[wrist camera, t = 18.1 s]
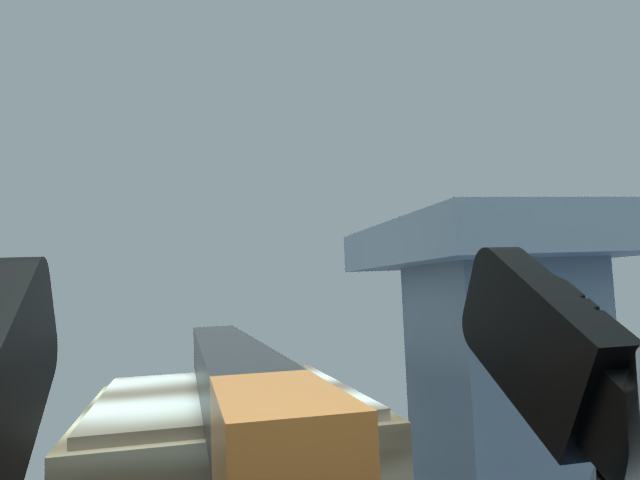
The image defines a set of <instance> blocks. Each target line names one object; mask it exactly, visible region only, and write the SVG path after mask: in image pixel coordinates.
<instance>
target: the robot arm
mask: <svg viewBox="0 0 640 480" xmlns="http://www.w3.org/2000/svg"><path fill="white" fill-rule="evenodd" d="M462 329H463V334H464V338H465V341H466V343H467V345H468V346H469V348H470V349H471V350H472V352H473V353H474V354H475V356H476V357H477V358H478V360H479V361H480V362H481V363H482V365H483V366H484V367H485V369H486V370H487V371H488V373H489V374H490V375H491V376H492V378H493V379H494V380H495V382H496V383H497V384H498V386H499V387H500V388H501V390H502V391H503V392H504V393H505V395H506V396H507V397H508V399H509V400H510V401H511V403H512V404H513V405H514V406H515V408H516V409H517V410H518V412H519V413H520V414H521V416H522V417H523V418H524V420H525V421H526V422H527V423H528V425H529V426H530V427H531V429H532V430H533V431H534V433H535V434H536V435H537V436H538V438H539V439H540V440H541V442H542V443H543V444H544V446H545V447H546V448H547V450H548V451H549V452H550V453H551V455H552V456H553V457H554V459H555V460H556V461H557V463H558V464H559V465H560V466H561V465H570V464H578V463H586V462H591V463H592V464H593V465H594V469H593V472H592V474H591V477H590V480H640V339H639V338H637V337H636V336H635V335H634V334H632V333H631V332H630V331H629V330H628V329H626V328H625V327H624V326H623V325H621V324H620V323H619V322H618V321H616V320H615V319H614V318H613V317H612V316H610V315H609V314H608V313H607V312H605V311H604V310H600V307H599V306H598V305H597V304H595V303H594V302H593V301H592V300H591V299H589V298H585V295H584V294H583V293H582V292H581V291H579V290H578V289H577V288H576V287H575V286H573V285H572V284H571V283H570V282H568V281H567V280H564V279H562V278H560V277H558V276H556V275H554V274H552V273H551V272H550V271H549V270H548V269H546V268H545V267H544V266H543V265H542V264H540V263H539V262H538V261H537V260H535V259H534V258H533V257H532V256H531V255H529V254H528V253H527V252H526V251H524V250H523V249H522V248H520V247H484V248H481V249H480V250H479V251H478V252H477V254H476V256H475V259H474V263H473V267H472V272H471V277H470V282H469V287H468V291H467V296H466V301H465V306H464V310H463V316H462ZM56 362H57V333H56V324H55V316H54V308H53V299H52V291H51V282H50V274H49V268H48V263H47V260H46V259H45V257H16V258H15V257H13V258H0V480H24V478H25V474H26V471H27V467H28V464H29V460H30V457H31V454H32V450H33V447H34V443H35V440H36V436H37V433H38V429H39V426H40V422H41V419H42V415H43V412H44V408H45V405H46V401H47V398H48V394H49V391H50V388H51V384H52V381H53V377H54V374H55V369H56Z"/></svg>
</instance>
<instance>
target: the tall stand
mask: <svg viewBox="0 0 640 480" xmlns="http://www.w3.org/2000/svg"><path fill="white" fill-rule="evenodd" d="M484 247H520V248H522V249H523V250H524V251H526V252H527V253H528V254H529V255H531V256H532V257H533V258H534V259H535V260H537V261H538V262H539V263H540V264H542V265H543V266H544V267H545V268H546V269H548V270H549V271H550V272H551V273H552V274H554V275H556V276H558V277H560V278H562V279H564V280H567V281H568V282H570V283H571V284H572V285H573V286H575V287H576V288H577V289H578V290H579V291H581V292H582V293H583V294H584V295H585V298H589V299H591V300H592V301H593V302H594V303H595V304H597V305H598V306H599V307H600V310H604V311H605V312H607V313H608V314H609V315H610V316H612V317H613V318H614V319H615V320H616V310H615V298H614V286H613V275H612V263H611V262H612V261H611V258H615V257H626V256H638V255H640V197H453V198H450V199H448V200H445V201H442V202H439V203H437V204H434V205H431V206H428V207H426V208H423V209H420V210H417V211H414V212H412V213H409V214H406V215H403V216H401V217H398V218H395V219H392V220H390V221H387V222H385V223H381V224H379V225H376V226H373V227H370V228H368V229H365V230H362V231H359V232H357V233H354V234H351V235H348V236H346V237H344V250H345V271H346V272H358V271H386V270H387V271H388V270H389V271H390V270H401V282H402V300H403V301H402V302H403V320H404V321H403V322H404V339H405V340H404V341H405V359H406V379H407V396H408V397H407V399H408V418H409V422H411V439H412V458H413V477H414V480H590V477H591V474H592V472H593V469H594V465H593V464H592V463H591V462H586V463H578V464H570V465H561V466H560V465H559V464H558V463H557V461H556V460H555V459H554V457H553V456H552V455H551V453H550V452H549V451H548V450H547V448H546V447H545V446H544V444H543V443H542V442H541V440H540V439H539V438H538V436H537V435H536V434H535V433H534V431H533V430H532V429H531V427H530V426H529V425H528V423H527V422H526V421H525V420H524V418H523V417H522V416H521V414H520V413H519V412H518V410H517V409H516V408H515V406H514V405H513V404H512V403H511V401H510V400H509V399H508V397H507V396H506V395H505V393H504V392H503V391H502V390H501V388H500V387H499V386H498V384H497V383H496V382H495V380H494V379H493V378H492V376H491V375H490V374H489V373H488V371H487V370H486V369H485V367H484V366H483V365H482V363H481V362H480V361H479V360H478V358H477V357H476V356H475V354H474V353H473V352H472V350H471V349H470V348H469V346H468V345H467V343H466V341H465V338H464V334H463V329H462V316H463V310H464V306H465V301H466V296H467V291H468V287H469V282H470V277H471V272H472V267H473V263H474V259H475V256H476V254H477V252H478V251H479V250H480V249H481V248H484Z"/></svg>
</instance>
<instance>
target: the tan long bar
mask: <svg viewBox="0 0 640 480" xmlns="http://www.w3.org/2000/svg"><path fill="white" fill-rule="evenodd" d="M194 368H195V375H196V381H197V387H198V394H199V400H200V406H201V413H202V419H203V425H204V432H205V438H206V444H207V451H208V457H209V464H210V470H211V476H212V480H381V475H380V454H379V433H378V412H377V410H376V409H374V408H372V407H370V406H369V405H367V404H365V403H364V402H362V401H360V400H359V399H357V398H355V397H353V396H352V395H350V394H348V393H347V392H345V391H343V390H341V389H340V388H338V387H336V386H335V385H333V384H331V383H330V382H328V381H326V380H324V379H323V378H321V377H319V376H318V375H316V374H314V373H313V372H311V371H309V370H307V369H306V368H304V367H302V366H301V365H299V364H297V363H296V362H294V361H292V360H290V359H289V358H287V357H285V356H284V355H282V354H280V353H278V352H277V351H275V350H273V349H272V348H270V347H268V346H266V345H265V344H263V343H261V342H260V341H258V340H256V339H255V338H253V337H251V336H249V335H248V334H246V333H244V332H243V331H241V330H239V329H238V328H236V327H234V326H216V327H197V328H194Z"/></svg>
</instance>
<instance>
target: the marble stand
mask: <svg viewBox="0 0 640 480" xmlns="http://www.w3.org/2000/svg"><path fill="white" fill-rule="evenodd" d="M301 366H302V367H304V368H306V369H307V370H309V371H311V372H313V373H314V374H316V375H318V376H319V377H321V378H323V379H324V380H326V381H328V382H330V383H331V384H333V385H335V386H336V387H338V388H340V389H341V390H343V391H345V392H347V393H348V394H350V395H352V396H353V397H355V398H357V399H359V400H360V401H362V402H364V403H365V404H367V405H369V406H370V407H372V408H374V409H376V410H377V412H378V433H379V454H380V475H381V480H414V477H413V458H412V439H411V422H409V421H406V420H405V419H403V418H401V417H399V416H397V415H396V414H394V413H392V412H390V408H388V407H386V406H385V405H383V404H381V403H379V402H377V401H375V400H373V399H371V398H369V397H368V396H366V395H364V394H362V393H360V392H358V391H356V390H354V389H352V388H351V387H349V386H347V385H345V384H343V383H341V382H339V381H337V380H335V379H334V378H332V377H330V376H328V375H326V374H324V373H322V372H320V371H319V370H317V369H315V368H313V367H311V366H309V365H301ZM45 480H212V476H211V470H210V464H209V457H208V451H207V444H206V438H205V432H204V425H203V419H202V413H201V406H200V400H199V394H198V387H197V381H196V375H195V373H184V374H168V375H155V376H140V377H126V378H114V380H113V381H112V382H111V383H110V384H109V385H107V386H105V387H104V388H103V389H102V390H101V392H100V393H99V394H98V395H97V396H96V397H95V399H94V400H93V401H92V402H91V403H90V405H89V406H88V407H87V408H86V409H85V411H84V412H83V413H82V414H81V415H80V416H79V418H78V419H77V420H76V422H75V423H74V424H73V425H72V426H71V427H70V429H69V430H68V431H67V432H66V433H65V435H64V436H63V437H62V438H61V439H60V441H59V442H58V443H57V444H56V445H55V446H54V448H53V449H52V450H51V451H50V452H49V454H48V455H47V456H46V457H45Z"/></svg>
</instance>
